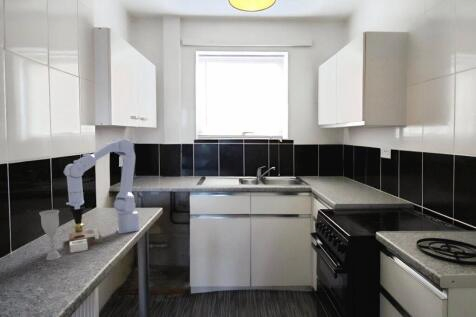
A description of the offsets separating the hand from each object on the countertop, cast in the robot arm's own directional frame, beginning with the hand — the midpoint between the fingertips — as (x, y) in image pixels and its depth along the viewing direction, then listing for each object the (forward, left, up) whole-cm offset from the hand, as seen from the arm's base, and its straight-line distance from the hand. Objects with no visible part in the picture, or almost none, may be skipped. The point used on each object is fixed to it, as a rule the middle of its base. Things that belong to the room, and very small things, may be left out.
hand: (78, 222), depth 156 cm
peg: (0, 0, -1) cm, 1 cm away
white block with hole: (+1, +9, -9) cm, 13 cm away
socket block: (-2, -2, -9) cm, 10 cm away
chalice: (+10, +14, -9) cm, 20 cm away
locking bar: (-5, +4, -6) cm, 8 cm away
